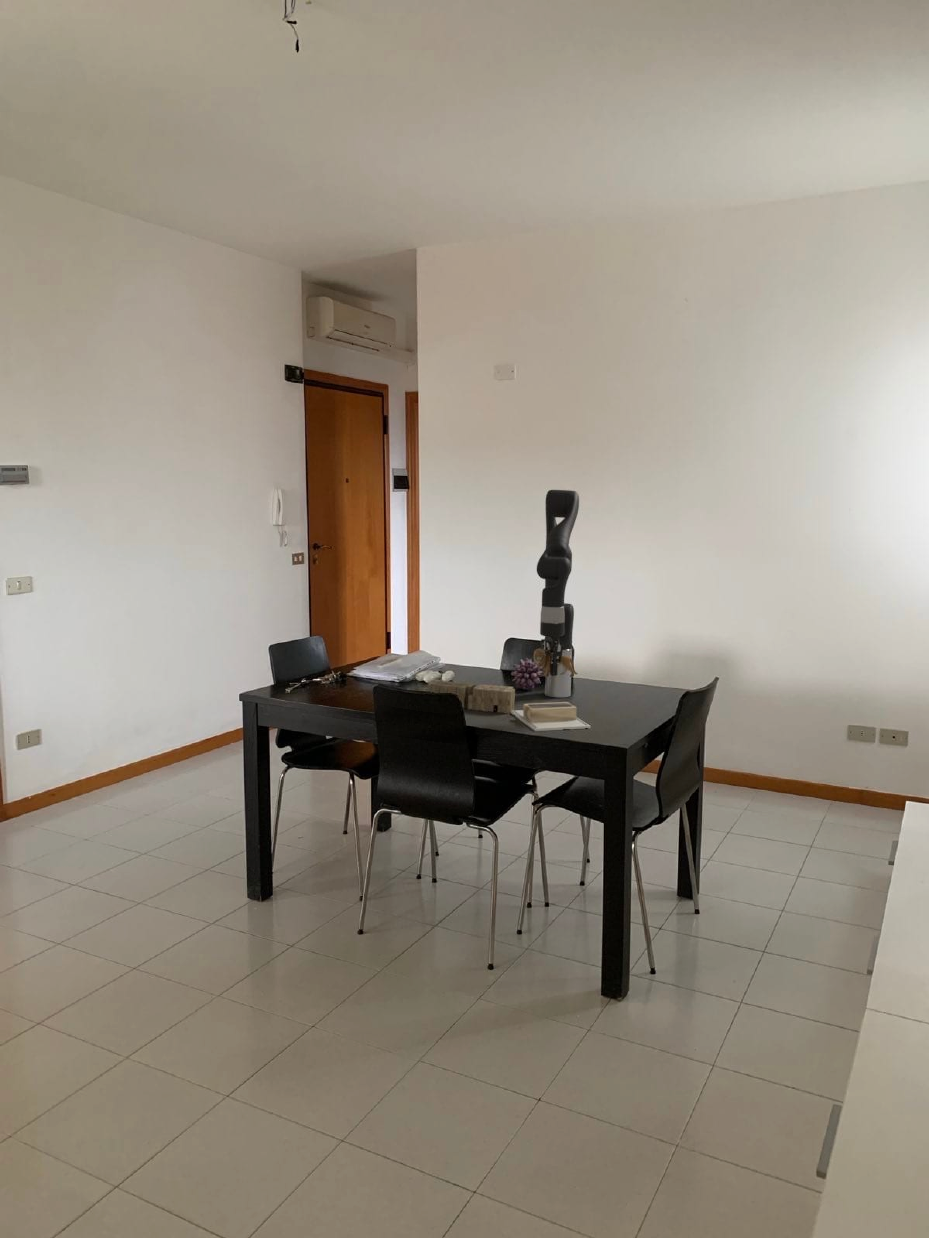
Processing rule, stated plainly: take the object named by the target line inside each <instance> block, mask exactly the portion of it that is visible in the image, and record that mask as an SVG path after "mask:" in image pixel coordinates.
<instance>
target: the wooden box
mask: <svg viewBox="0 0 929 1238" xmlns="http://www.w3.org/2000/svg"><path fill="white" fill-rule="evenodd" d="M577 709H578V708H577V706H575V705H573V704H571V703H570V702H569V701H562V702H561V701H560V702H538V703H537V702H536V703H523V709H522V710H523V716H524V717H525V718H526V719H528V720H529V721H530V722H545V721H565V720H576V717H577V713H578V712H577Z"/></svg>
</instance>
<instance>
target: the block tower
mask: <svg viewBox="0 0 929 1238" xmlns="http://www.w3.org/2000/svg"><path fill="white" fill-rule="evenodd" d="M427 692H431V693H432V692H434V693H452V694H455V695H458V696H459V698H460V700H461V702H462V706H463V708H464V709H467V710H468V709H475V710H474V711H478V710H485V711H484V712H488V711H492V712H491V713H493V711H494V710H495V709H496V710H495V711H496V712H497V713H498V712H506V713H505V714H508V713H510V714H512V713H511V711H515V699H516V698H515V697H516V696H515V695H516V689H515V688H514V686H507V685H505V686H504V685H495V684H492V685H491V684H482V683H480V684H478V685H476V683H471V682H463V681H447V680H440V679H438V678H437V679H434V680H433V681H431V682H429V683H427ZM497 708H498V709H497ZM464 709H463V710H464ZM495 711H494V712H495Z"/></svg>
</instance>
